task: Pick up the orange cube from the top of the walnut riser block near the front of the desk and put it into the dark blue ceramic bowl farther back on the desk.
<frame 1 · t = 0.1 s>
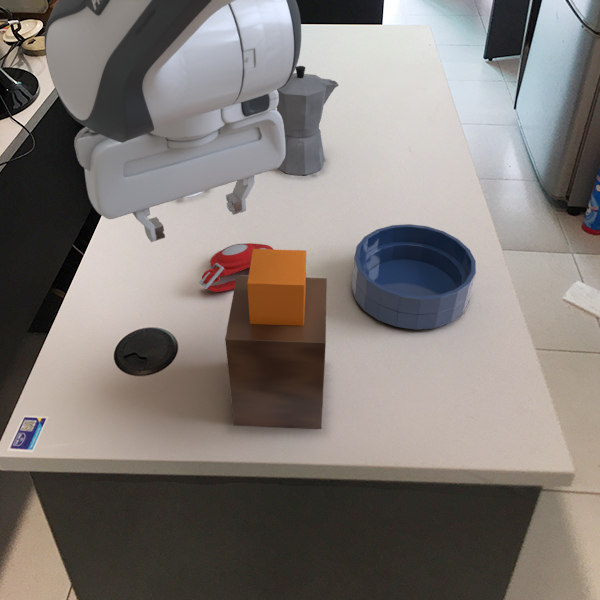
hand: (197, 223, 67), 20 cm above the table, tool pointing down, fingers open, 8 cm apart
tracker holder: (233, 274, 92), on the table
orange cube: (278, 307, 66), point 14 cm above the table, touching riser
riser: (280, 393, 75), on the table
coffeepot: (294, 164, 116), on the table
grey electronic device: (234, 89, 140), on the table
decorative candle: (184, 185, 110), on the table
bowl: (409, 292, 89), on the table
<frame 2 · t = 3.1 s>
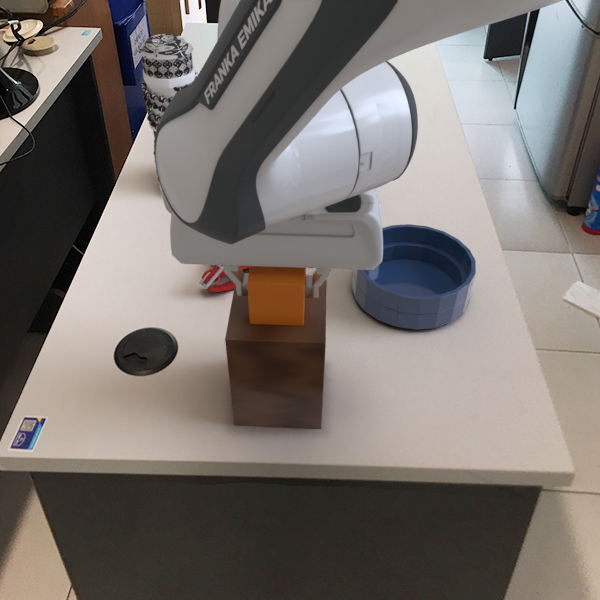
hand: (278, 293, 65), 16 cm above the table, tool pointing down, fingers closed on orange cube, 5 cm apart
orange cube: (278, 306, 66), point 14 cm above the table, touching gripper, riser
everything else where it was.
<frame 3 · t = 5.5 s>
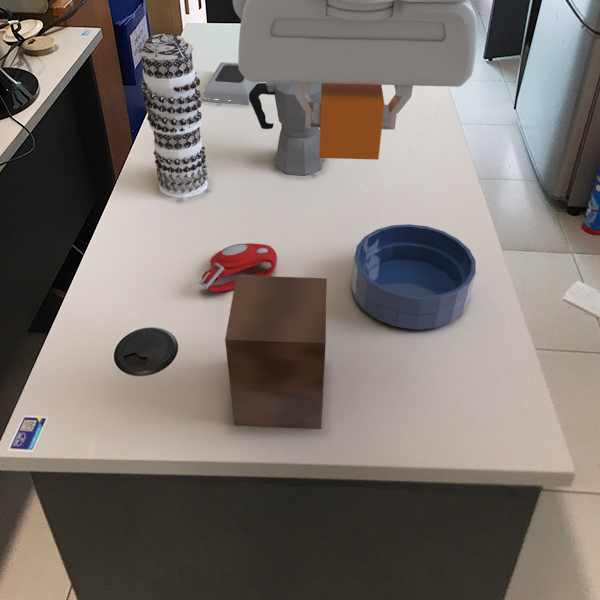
hand: (350, 126, 59), 31 cm above the table, tool pointing down, fingers closed on orange cube, 5 cm apart
orange cube: (348, 144, 60), point 29 cm above the table, touching gripper
everything else where it was.
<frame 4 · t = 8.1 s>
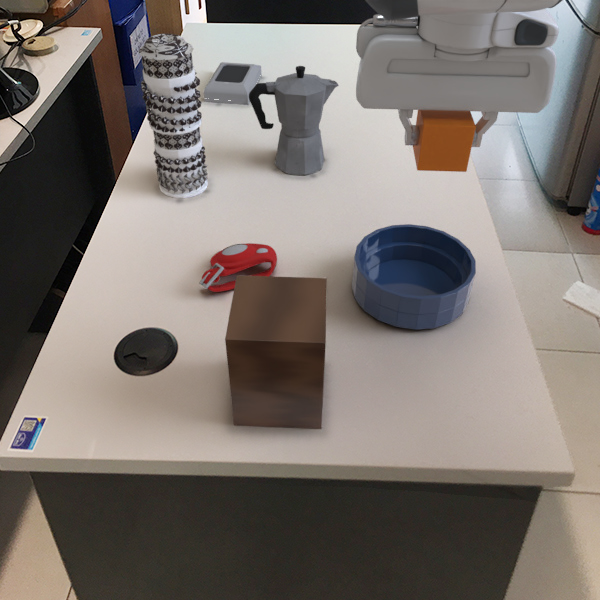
hand: (441, 144, 71), 24 cm above the table, tool pointing down, fingers closed on orange cube, 5 cm apart
orange cube: (438, 159, 72), point 23 cm above the table, touching gripper
everything else where it was.
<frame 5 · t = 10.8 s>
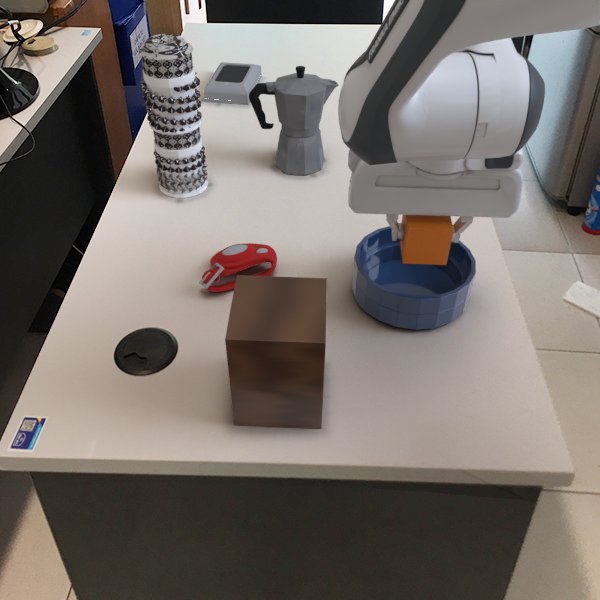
hand: (424, 239, 80), 11 cm above the table, tool pointing down, fingers closed on orange cube, 5 cm apart
orange cube: (422, 251, 81), point 9 cm above the table, touching gripper
everything else where it was.
when the fingers open (2 cm above the table, at t = 13.4 s): orange cube stays where it is, resting on bowl.
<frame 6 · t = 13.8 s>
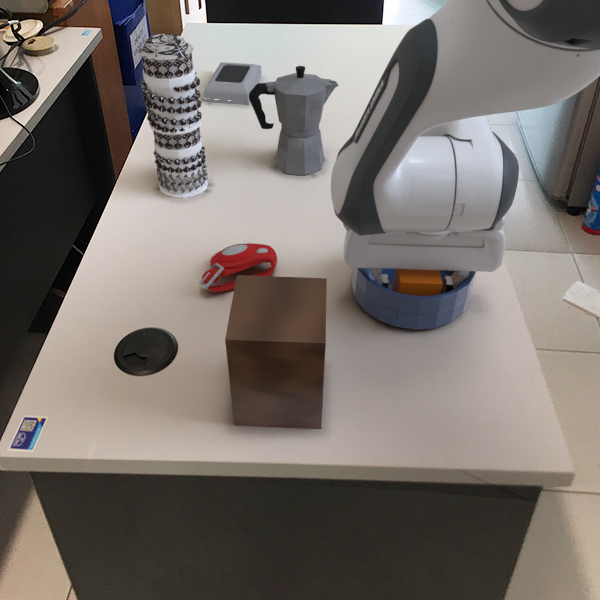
hand: (415, 289, 86), 3 cm above the table, tool pointing down, fingers open, 8 cm apart
orange cube: (413, 300, 87), point 1 cm above the table, touching bowl
everything else where it was.
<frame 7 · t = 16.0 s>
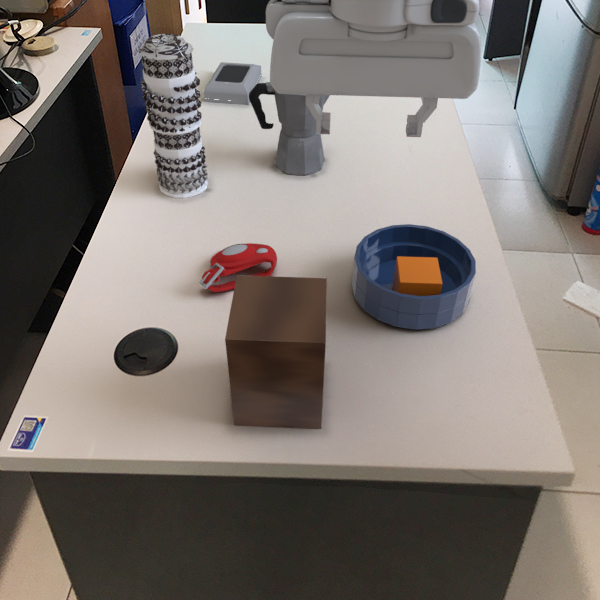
hand: (367, 133, 66), 28 cm above the table, tool pointing down, fingers open, 8 cm apart
nothing on the table moved.
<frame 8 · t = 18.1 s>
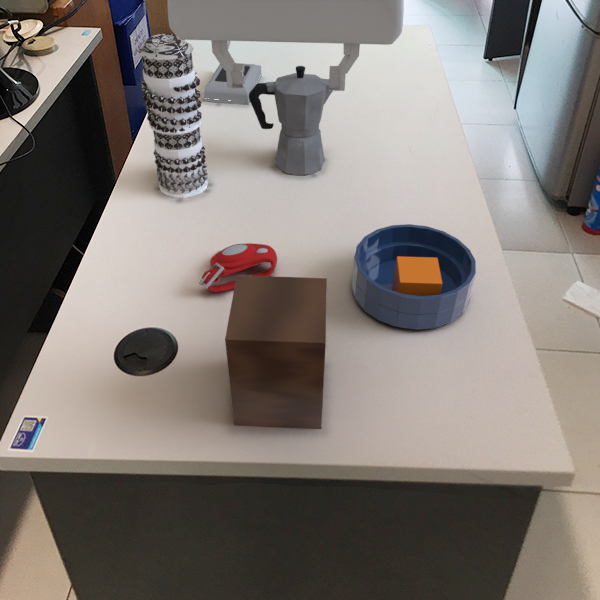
hand: (286, 87, 59), 34 cm above the table, tool pointing down, fingers open, 8 cm apart
nothing on the table moved.
at the end: orange cube inside the target area in the bowl (2.4 cm from its centre), point 0.6 cm above the bowl's base; the gripper is holding nothing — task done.
